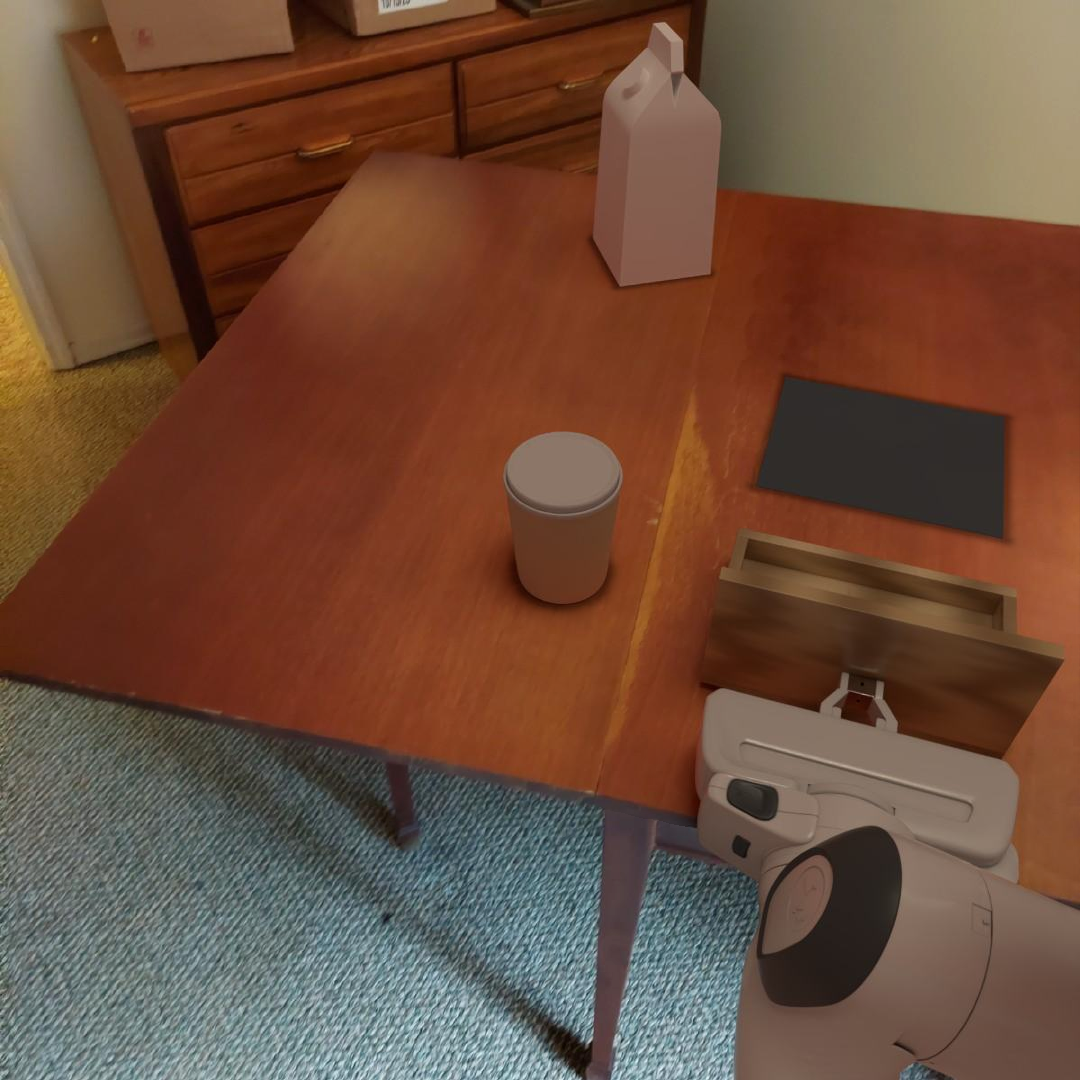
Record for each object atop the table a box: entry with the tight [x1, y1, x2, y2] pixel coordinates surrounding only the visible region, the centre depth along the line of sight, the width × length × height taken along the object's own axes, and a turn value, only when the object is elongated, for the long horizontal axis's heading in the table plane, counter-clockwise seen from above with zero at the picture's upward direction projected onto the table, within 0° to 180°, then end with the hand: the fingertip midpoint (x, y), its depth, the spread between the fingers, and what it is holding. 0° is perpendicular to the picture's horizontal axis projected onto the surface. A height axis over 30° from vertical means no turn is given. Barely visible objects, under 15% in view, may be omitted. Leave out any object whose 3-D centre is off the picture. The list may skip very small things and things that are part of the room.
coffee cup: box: [502, 431, 624, 605], centre depth 78 cm, size 9×9×12 cm
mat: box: [755, 376, 1005, 540], centre depth 93 cm, size 22×18×1 cm
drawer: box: [699, 527, 1066, 760], centre depth 72 cm, size 22×14×13 cm, turn 71°
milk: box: [592, 21, 722, 288], centre depth 110 cm, size 12×12×26 cm
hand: (860, 681), depth 67 cm, fingers closed, pressing on drawer
